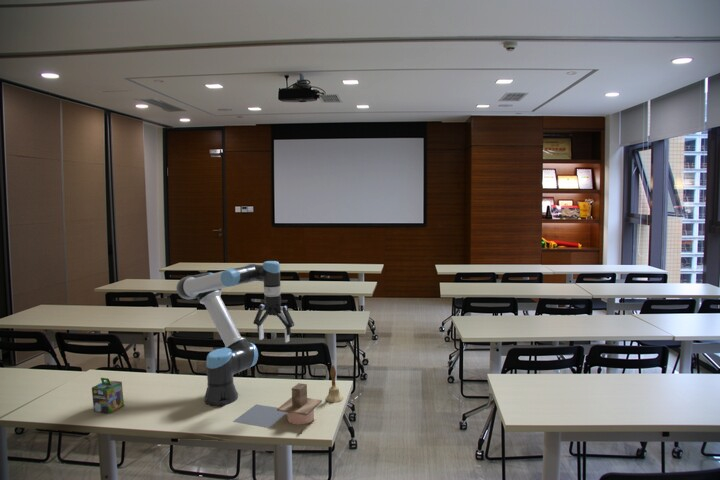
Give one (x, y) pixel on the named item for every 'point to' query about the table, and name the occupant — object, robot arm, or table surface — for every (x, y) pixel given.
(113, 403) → the chalk box
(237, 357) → the robot arm
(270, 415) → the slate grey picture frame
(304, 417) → the terracotta bowl
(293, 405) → the walnut lid
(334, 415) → the table surface
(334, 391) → the hand bell
